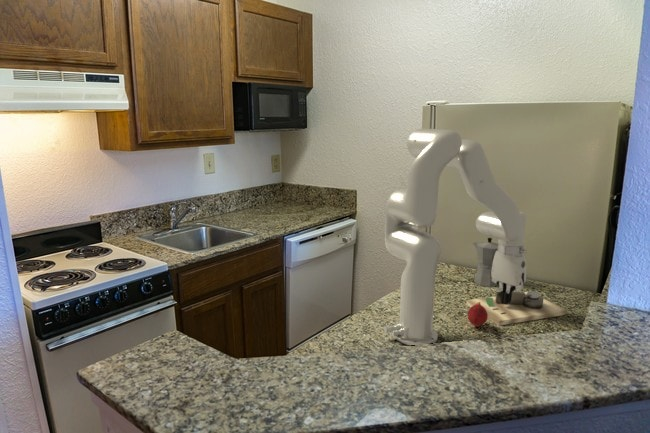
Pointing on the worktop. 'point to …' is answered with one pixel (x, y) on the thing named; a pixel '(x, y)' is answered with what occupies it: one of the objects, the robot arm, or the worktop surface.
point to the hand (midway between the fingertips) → (505, 302)
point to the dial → (523, 299)
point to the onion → (477, 315)
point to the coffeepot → (485, 262)
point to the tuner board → (516, 311)
